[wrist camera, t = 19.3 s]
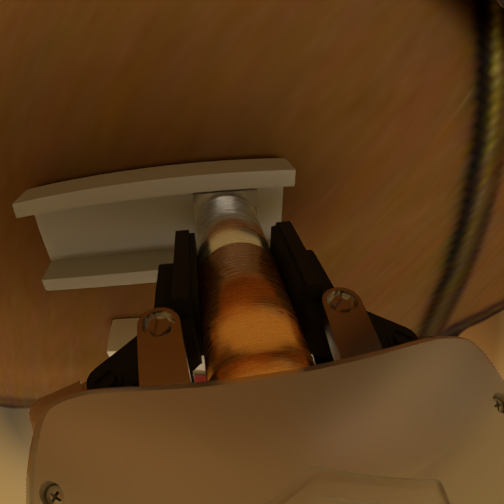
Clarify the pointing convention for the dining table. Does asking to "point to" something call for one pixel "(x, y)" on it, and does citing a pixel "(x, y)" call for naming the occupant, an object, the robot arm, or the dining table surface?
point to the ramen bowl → (501, 3)
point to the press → (138, 222)
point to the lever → (242, 292)
